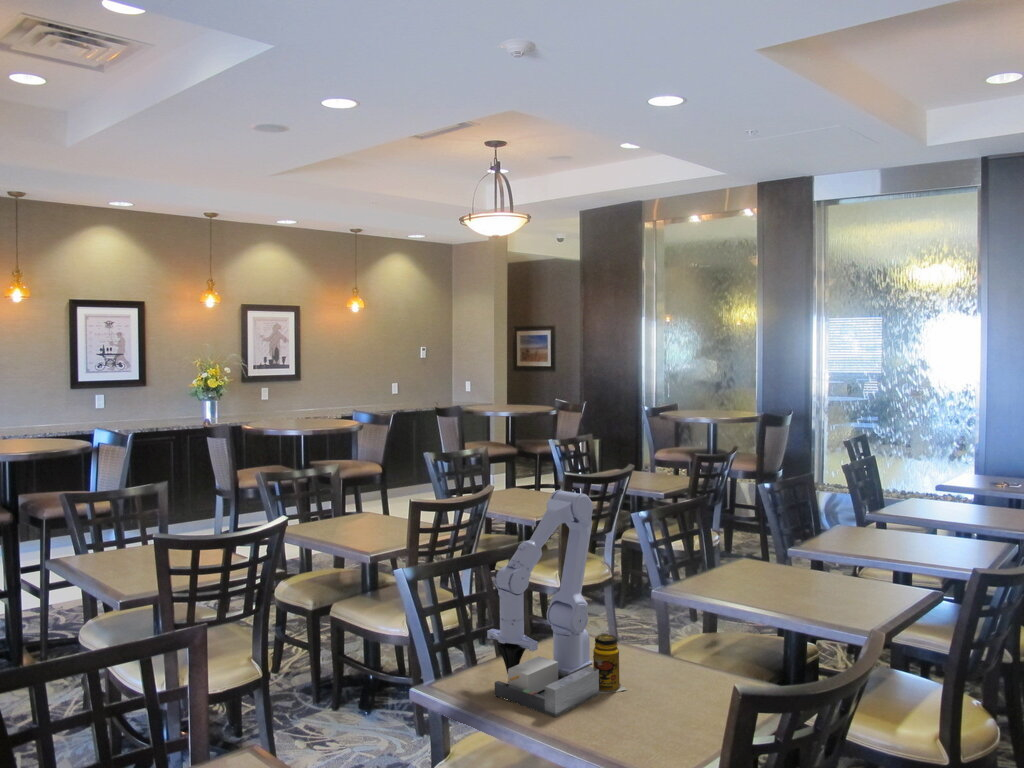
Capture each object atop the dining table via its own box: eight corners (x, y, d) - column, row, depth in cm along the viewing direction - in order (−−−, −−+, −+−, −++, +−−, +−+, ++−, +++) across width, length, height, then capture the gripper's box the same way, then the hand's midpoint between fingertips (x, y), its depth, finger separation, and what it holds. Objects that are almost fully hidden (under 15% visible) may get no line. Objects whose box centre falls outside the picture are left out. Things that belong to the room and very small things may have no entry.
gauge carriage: (538, 676, 201) (538, 656, 201) (558, 682, 197) (558, 661, 197) (501, 693, 191) (500, 671, 191) (520, 700, 187) (520, 678, 187)
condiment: (598, 694, 193) (598, 643, 192) (584, 681, 201) (584, 632, 200) (627, 690, 195) (627, 639, 195) (612, 677, 203) (611, 628, 203)
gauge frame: (539, 676, 204) (539, 651, 204) (598, 695, 192) (598, 669, 192) (494, 696, 192) (494, 670, 192) (555, 717, 180) (554, 690, 180)
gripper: (478, 615, 201) (479, 671, 201) (523, 627, 191) (524, 686, 192) (498, 609, 206) (498, 663, 206) (543, 620, 196) (543, 677, 197)
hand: (512, 674), depth 199 cm, fingers closed
